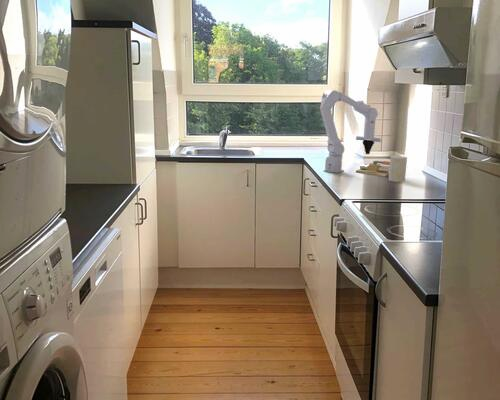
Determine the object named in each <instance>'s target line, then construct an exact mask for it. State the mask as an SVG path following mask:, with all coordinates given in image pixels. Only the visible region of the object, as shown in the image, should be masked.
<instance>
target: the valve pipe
mask: <svg viewBox="0 0 500 400" xmlns="http://www.w3.org/2000/svg"><path fill="white" fill-rule="evenodd" d="M359 169H362V170H367V171H373V172H385V173H389V169H390V167H386V166H383V165H382V164H381V163H377V164H373V162H372V163H369V164H360V165H359Z"/></svg>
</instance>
